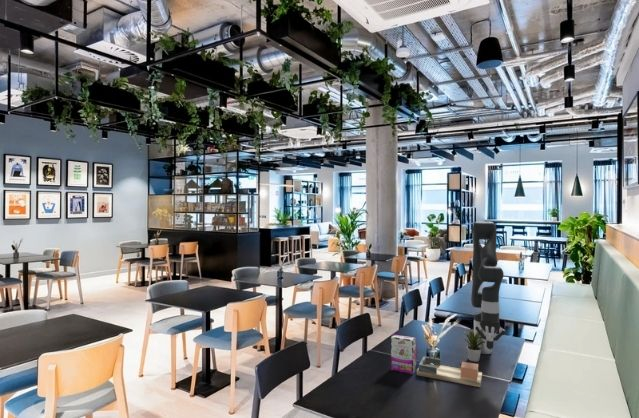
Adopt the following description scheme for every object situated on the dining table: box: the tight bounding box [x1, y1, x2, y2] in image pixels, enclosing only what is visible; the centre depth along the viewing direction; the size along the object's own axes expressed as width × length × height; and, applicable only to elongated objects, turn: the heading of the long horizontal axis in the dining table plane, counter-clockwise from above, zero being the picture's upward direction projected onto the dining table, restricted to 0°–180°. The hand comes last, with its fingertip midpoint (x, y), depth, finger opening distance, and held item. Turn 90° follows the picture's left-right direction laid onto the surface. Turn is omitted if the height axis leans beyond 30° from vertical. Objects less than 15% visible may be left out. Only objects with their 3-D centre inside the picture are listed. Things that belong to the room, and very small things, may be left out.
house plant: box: [462, 327, 486, 363], centre depth 205 cm, size 14×14×16 cm
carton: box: [460, 361, 479, 380], centre depth 183 cm, size 7×7×4 cm
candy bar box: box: [390, 334, 417, 375], centre depth 192 cm, size 11×5×16 cm, turn 62°
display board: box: [416, 356, 483, 388], centre depth 187 cm, size 12×28×5 cm, turn 64°
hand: (489, 348), depth 179 cm, fingers closed
